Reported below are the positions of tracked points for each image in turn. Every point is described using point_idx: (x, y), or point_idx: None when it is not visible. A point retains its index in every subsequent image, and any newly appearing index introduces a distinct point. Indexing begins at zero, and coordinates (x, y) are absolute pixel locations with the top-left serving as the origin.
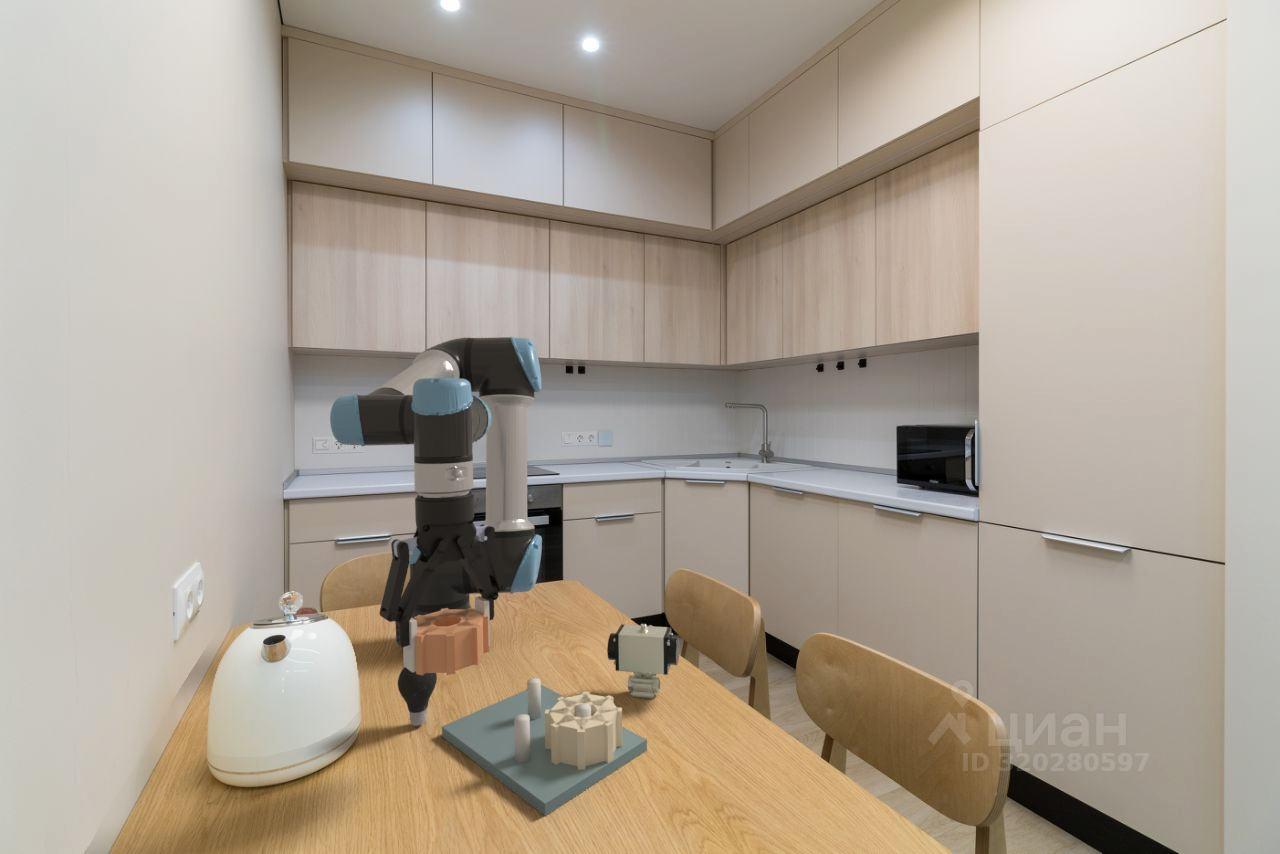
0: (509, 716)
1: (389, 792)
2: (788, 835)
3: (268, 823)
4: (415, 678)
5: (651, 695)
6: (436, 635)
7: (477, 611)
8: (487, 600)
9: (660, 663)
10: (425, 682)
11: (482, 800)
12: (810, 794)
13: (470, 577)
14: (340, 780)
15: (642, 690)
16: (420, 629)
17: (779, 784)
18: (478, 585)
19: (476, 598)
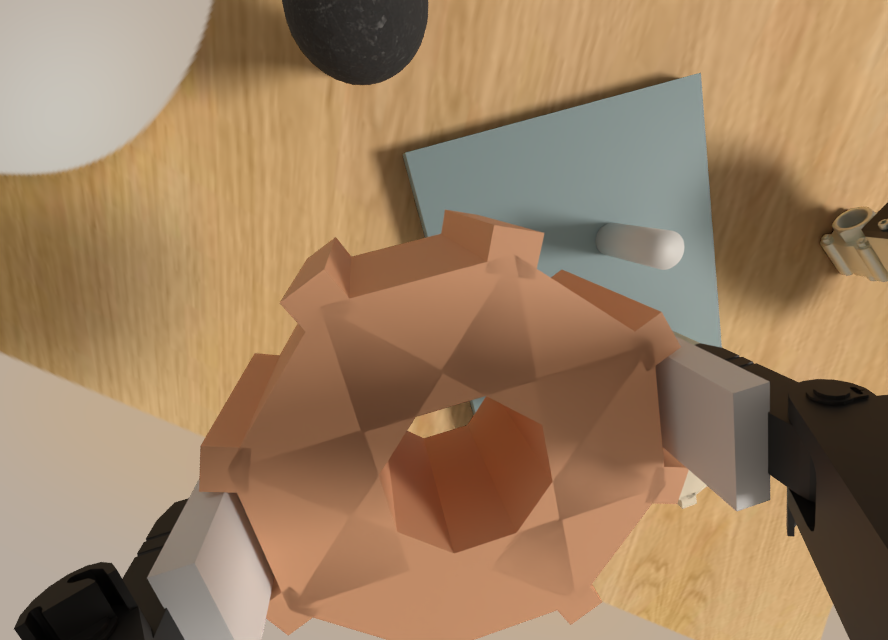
0: (563, 205)
1: (262, 317)
2: (718, 636)
3: (4, 296)
4: (341, 62)
5: (846, 273)
6: (370, 629)
7: (670, 387)
8: (764, 490)
9: None
10: (377, 76)
11: (422, 423)
12: (794, 595)
13: (879, 546)
14: (151, 213)
15: (847, 259)
16: (296, 539)
17: (785, 567)
18: (833, 545)
19: (733, 416)
